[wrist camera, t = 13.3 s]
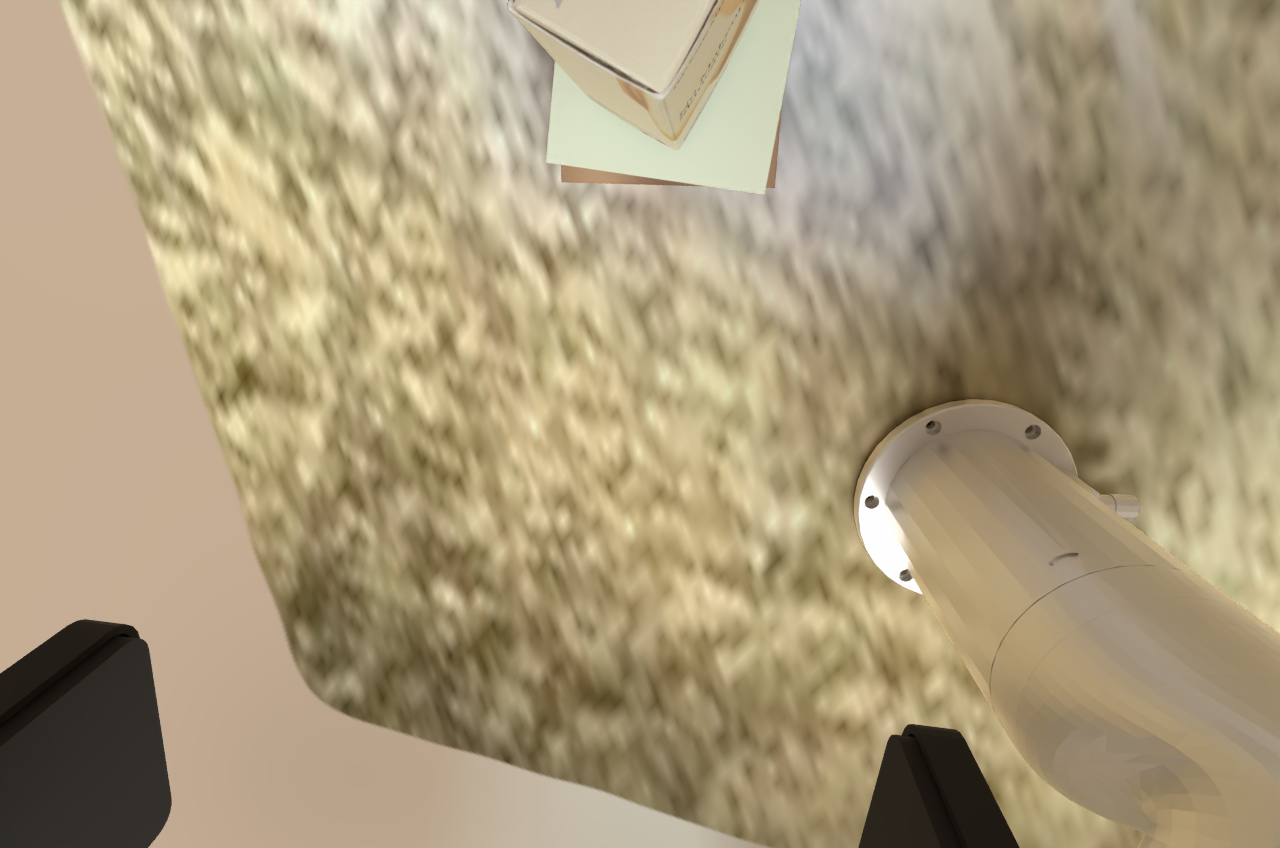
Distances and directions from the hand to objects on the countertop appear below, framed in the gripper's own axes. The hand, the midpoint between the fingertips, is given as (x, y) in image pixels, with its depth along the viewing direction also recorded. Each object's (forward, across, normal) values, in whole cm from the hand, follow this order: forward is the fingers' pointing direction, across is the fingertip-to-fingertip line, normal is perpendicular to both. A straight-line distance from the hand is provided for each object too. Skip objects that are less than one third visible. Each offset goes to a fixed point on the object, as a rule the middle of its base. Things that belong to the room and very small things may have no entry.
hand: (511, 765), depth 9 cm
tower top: (+28, 0, -12) cm, 30 cm away
